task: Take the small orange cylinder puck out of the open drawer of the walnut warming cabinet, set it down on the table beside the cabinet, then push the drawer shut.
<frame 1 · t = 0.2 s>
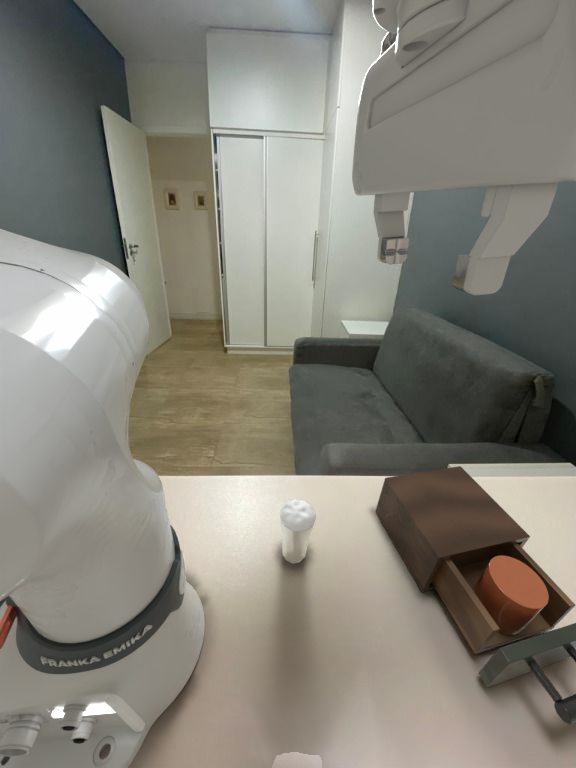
hand: (424, 274, 20), 39 cm above the table, tool pointing down, fingers open, 8 cm apart
orange cylinder puck: (496, 608, 37), point 2 cm above the table, touching drawer
drawer: (516, 618, 34), point 4 cm above the table, slide at 8.5 cm, touching orange cylinder puck
cabinet: (435, 538, 47), on the table
milkshake: (291, 555, 43), on the table
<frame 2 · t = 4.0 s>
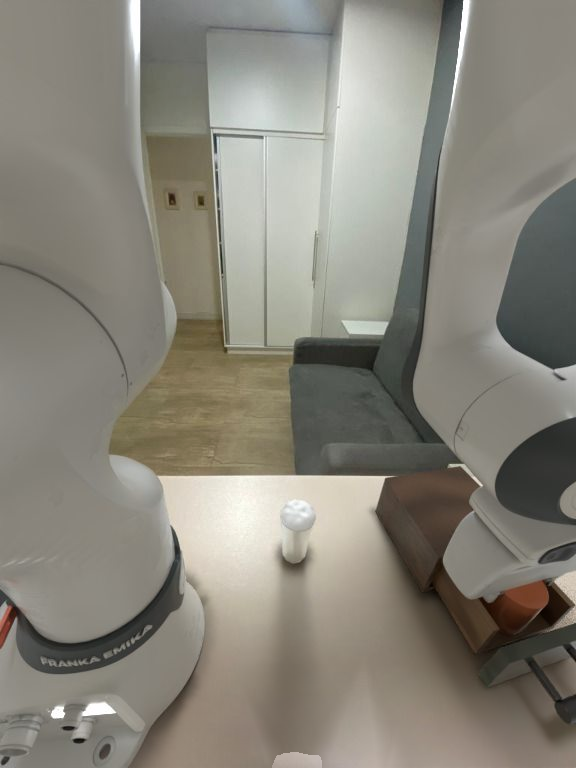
hand: (512, 587, 35), 7 cm above the table, tool pointing down, fingers closed on orange cylinder puck, 5 cm apart
orange cylinder puck: (496, 608, 37), point 2 cm above the table, touching drawer, gripper
everything else where it was.
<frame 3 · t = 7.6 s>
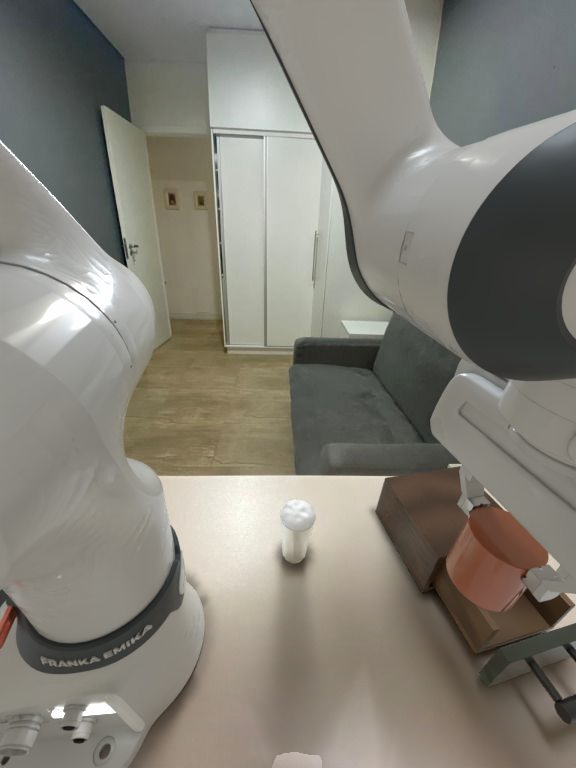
hand: (499, 546, 25), 19 cm above the table, tool pointing down, fingers closed on orange cylinder puck, 5 cm apart
orange cylinder puck: (479, 576, 28), point 14 cm above the table, touching gripper
drawer: (516, 618, 34), point 4 cm above the table, slide at 8.5 cm
everything else where it was.
when the fingers open (4 cm above the table, at t = 11.5 s): orange cylinder puck stays where it is, on the table.
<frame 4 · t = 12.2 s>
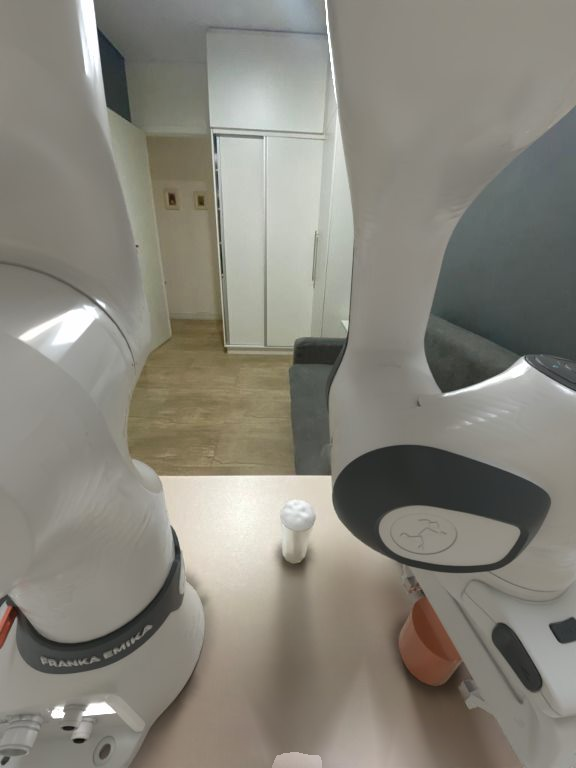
hand: (436, 634, 31), 5 cm above the table, tool pointing down, fingers open, 8 cm apart
orange cylinder puck: (424, 652, 34), on the table
everything else where it was.
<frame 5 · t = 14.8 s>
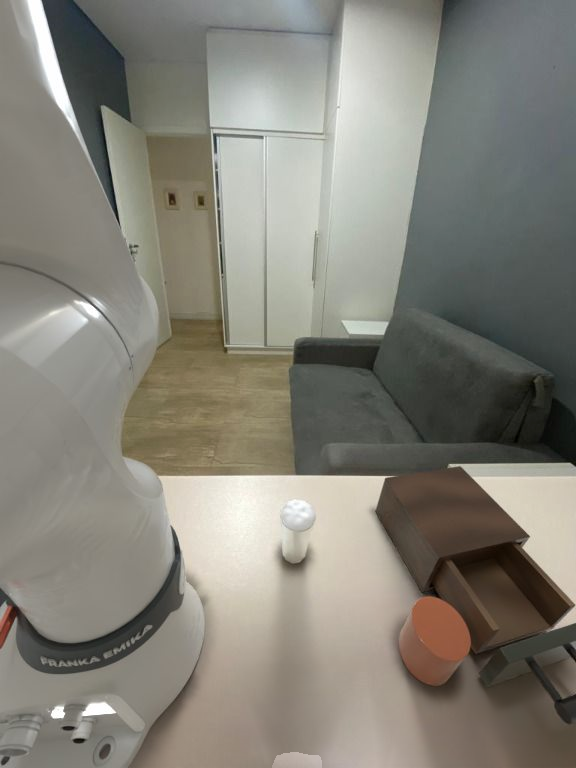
nothing on the table moved.
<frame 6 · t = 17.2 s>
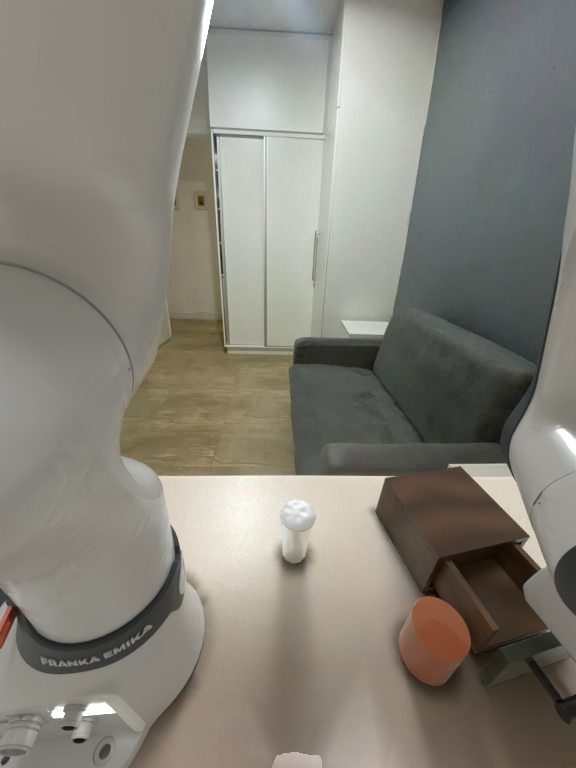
drawer: (516, 618, 34), point 4 cm above the table, slide at 8.5 cm, touching gripper
everything else where it was.
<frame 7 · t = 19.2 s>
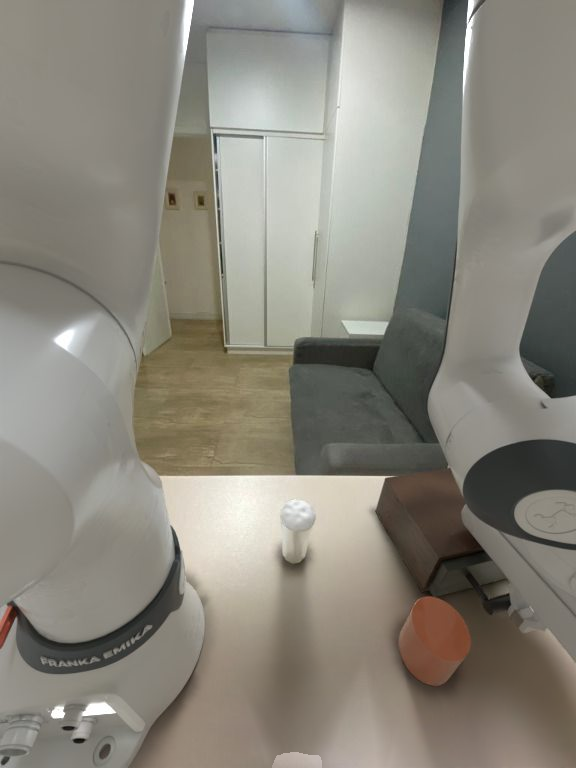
hand: (518, 620, 34), 4 cm above the table, tool pointing down, fingers closed
drawer: (462, 546, 41), point 4 cm above the table, slide at 0.0 cm, touching cabinet, gripper
everything else where it was.
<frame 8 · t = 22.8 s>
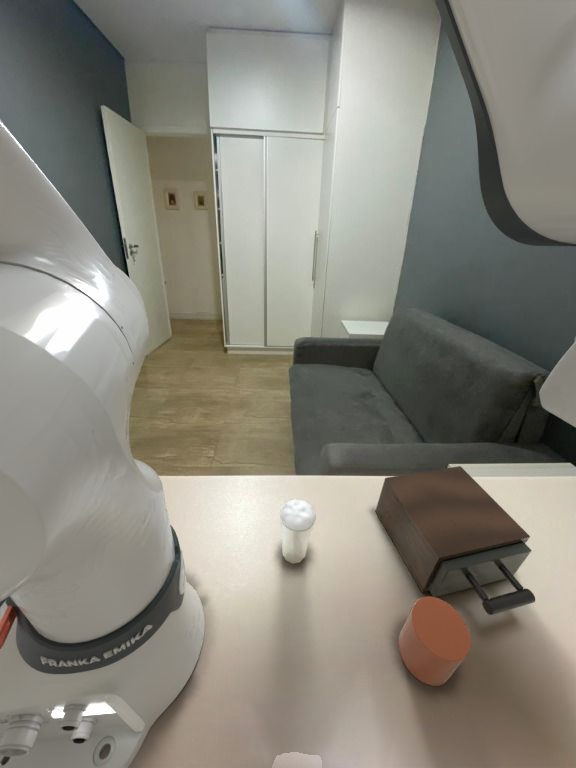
drawer: (462, 546, 41), point 4 cm above the table, slide at 0.0 cm, touching cabinet
everything else where it was.
at the end: orange cylinder puck 0.3 cm from the target spot, on the table; orange cylinder puck tilted 0°; drawer slide at 0.0 cm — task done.
